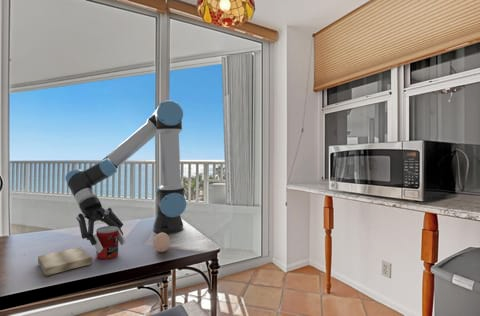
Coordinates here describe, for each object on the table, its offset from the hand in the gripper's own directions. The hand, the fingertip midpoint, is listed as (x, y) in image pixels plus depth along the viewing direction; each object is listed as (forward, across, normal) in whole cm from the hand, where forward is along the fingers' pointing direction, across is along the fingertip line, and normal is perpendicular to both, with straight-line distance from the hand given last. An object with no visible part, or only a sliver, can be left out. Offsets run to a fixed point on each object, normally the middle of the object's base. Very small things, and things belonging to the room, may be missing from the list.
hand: (112, 246), depth 107 cm
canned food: (+1, 0, -6) cm, 6 cm away
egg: (+11, -15, +5) cm, 19 cm away
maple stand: (-3, +13, -9) cm, 16 cm away
